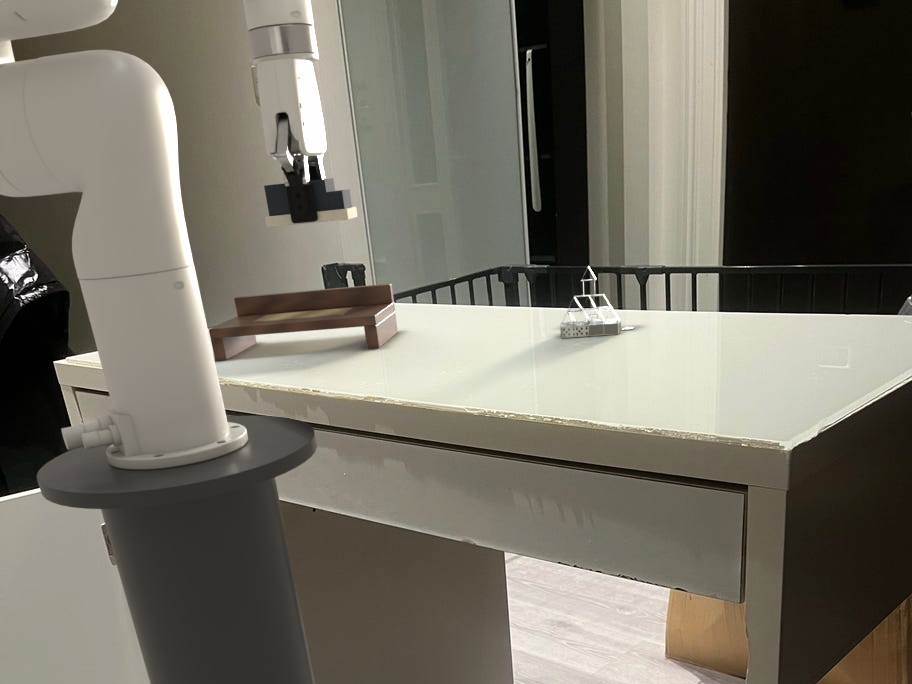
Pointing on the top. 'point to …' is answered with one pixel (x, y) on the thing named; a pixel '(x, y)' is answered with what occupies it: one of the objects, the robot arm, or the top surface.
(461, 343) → the top surface
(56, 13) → the robot arm
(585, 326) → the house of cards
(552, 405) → the top surface
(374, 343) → the wooden bench
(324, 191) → the stepped dark grey block
